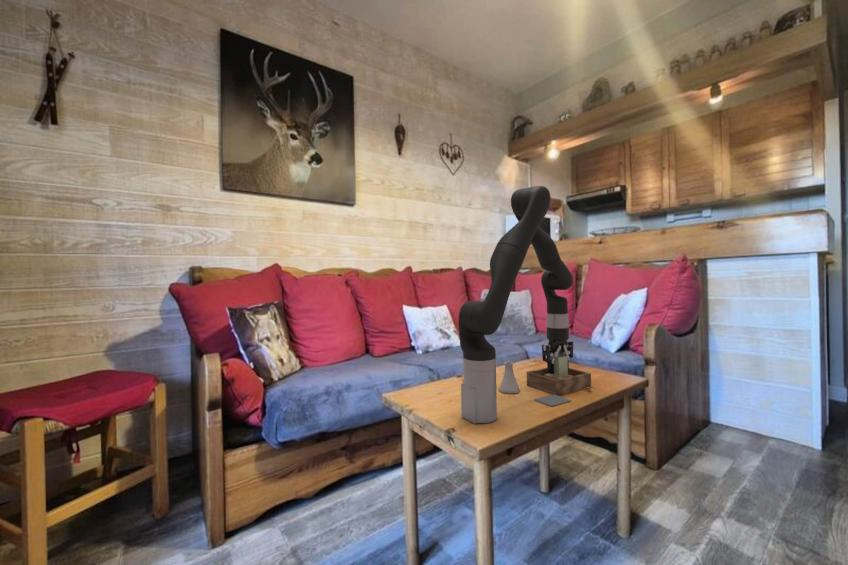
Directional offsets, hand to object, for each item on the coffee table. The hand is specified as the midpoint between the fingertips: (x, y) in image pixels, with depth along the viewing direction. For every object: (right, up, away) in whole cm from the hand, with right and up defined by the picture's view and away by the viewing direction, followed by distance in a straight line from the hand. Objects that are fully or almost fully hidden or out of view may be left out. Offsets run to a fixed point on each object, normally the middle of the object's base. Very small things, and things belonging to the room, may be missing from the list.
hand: (558, 371), depth 129 cm
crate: (0, -5, 0) cm, 5 cm away
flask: (-18, -6, -4) cm, 20 cm away
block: (0, -1, 0) cm, 1 cm away
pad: (-7, -6, -14) cm, 17 cm away
